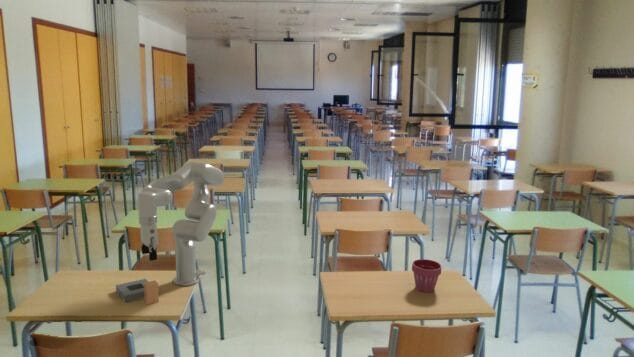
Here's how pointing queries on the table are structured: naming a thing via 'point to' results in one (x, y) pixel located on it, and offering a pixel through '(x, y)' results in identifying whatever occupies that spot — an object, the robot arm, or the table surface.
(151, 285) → the plug
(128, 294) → the socket plate
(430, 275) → the plant pot
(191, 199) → the robot arm
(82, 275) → the table surface
